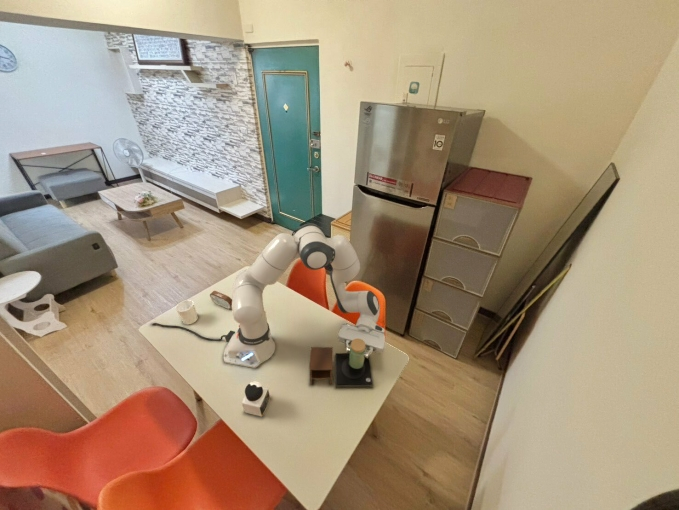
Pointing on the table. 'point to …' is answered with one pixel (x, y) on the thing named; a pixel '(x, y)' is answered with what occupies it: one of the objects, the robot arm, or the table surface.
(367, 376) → the hot plate
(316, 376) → the wooden cubby
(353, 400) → the table surface
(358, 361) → the jar
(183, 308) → the white cup
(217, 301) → the tin
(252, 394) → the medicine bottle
